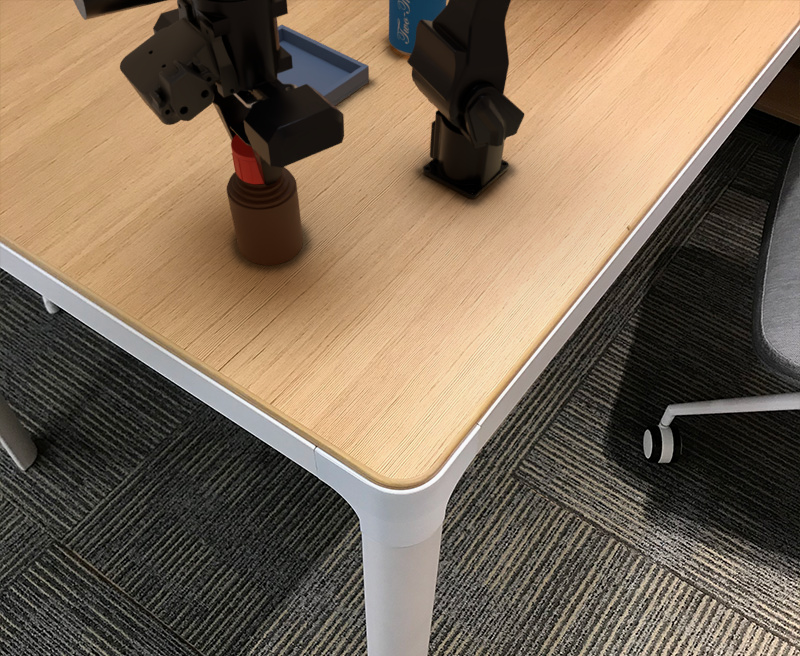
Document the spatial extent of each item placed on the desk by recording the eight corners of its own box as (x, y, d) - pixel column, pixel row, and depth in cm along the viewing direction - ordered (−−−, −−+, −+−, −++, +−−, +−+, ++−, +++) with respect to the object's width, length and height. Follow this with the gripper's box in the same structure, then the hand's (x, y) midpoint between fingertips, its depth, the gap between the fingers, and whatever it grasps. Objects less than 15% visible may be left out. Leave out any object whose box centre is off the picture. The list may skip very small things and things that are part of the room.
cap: (267, 149, 66) (263, 122, 64) (290, 173, 64) (287, 146, 62) (227, 165, 65) (222, 138, 63) (250, 190, 63) (245, 163, 61)
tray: (369, 82, 86) (368, 65, 85) (301, 129, 81) (299, 112, 80) (283, 40, 91) (281, 24, 89) (214, 82, 86) (211, 65, 84)
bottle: (316, 239, 72) (307, 145, 63) (271, 275, 69) (256, 182, 60) (269, 211, 74) (255, 116, 65) (224, 245, 71) (203, 151, 63)
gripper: (61, -45, 53) (121, 146, 66) (186, 85, 45) (227, 275, 58) (205, -84, 57) (235, 103, 70) (345, 29, 49) (350, 218, 62)
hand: (258, 170), depth 65 cm, fingers closed on cap, 4 cm apart
